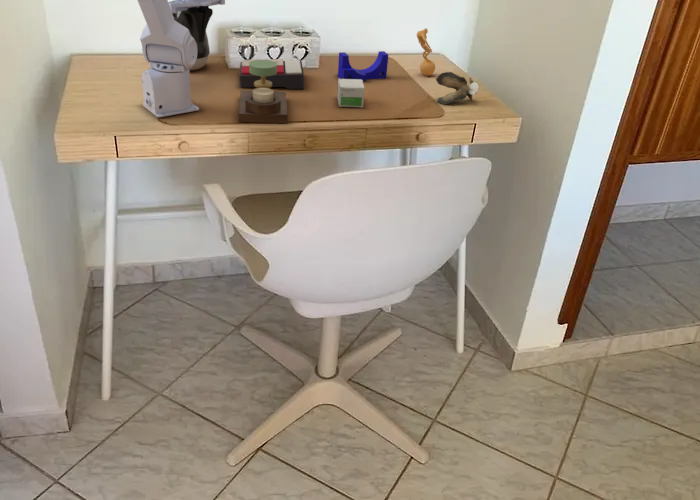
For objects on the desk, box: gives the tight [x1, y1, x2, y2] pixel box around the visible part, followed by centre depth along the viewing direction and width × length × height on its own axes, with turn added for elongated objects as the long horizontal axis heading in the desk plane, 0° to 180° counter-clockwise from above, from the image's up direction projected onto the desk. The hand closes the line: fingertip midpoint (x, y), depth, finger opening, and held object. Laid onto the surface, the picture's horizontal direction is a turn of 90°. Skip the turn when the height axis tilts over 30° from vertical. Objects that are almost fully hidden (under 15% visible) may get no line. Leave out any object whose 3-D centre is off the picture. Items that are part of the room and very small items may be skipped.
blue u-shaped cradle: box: [337, 50, 389, 82], centre depth 168 cm, size 12×4×6 cm, turn 108°
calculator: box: [238, 58, 305, 90], centre depth 162 cm, size 11×4×15 cm
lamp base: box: [238, 90, 288, 124], centre depth 145 cm, size 14×10×4 cm
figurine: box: [416, 28, 436, 77], centre depth 172 cm, size 8×6×12 cm
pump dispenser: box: [172, 11, 211, 72], centre depth 164 cm, size 10×10×15 cm
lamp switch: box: [251, 87, 275, 103], centre depth 141 cm, size 4×4×2 cm
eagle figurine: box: [435, 71, 480, 105], centre depth 159 cm, size 8×7×9 cm
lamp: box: [249, 59, 277, 89], centre depth 147 cm, size 6×6×5 cm
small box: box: [336, 78, 365, 109], centre depth 153 cm, size 6×6×5 cm
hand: (198, 41), depth 151 cm, fingers closed
